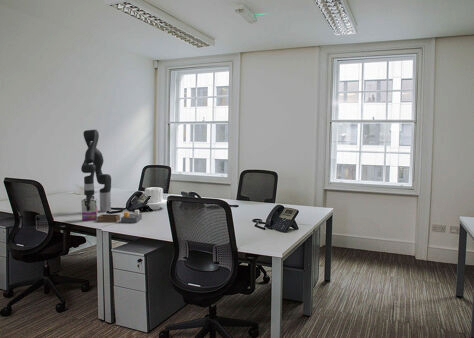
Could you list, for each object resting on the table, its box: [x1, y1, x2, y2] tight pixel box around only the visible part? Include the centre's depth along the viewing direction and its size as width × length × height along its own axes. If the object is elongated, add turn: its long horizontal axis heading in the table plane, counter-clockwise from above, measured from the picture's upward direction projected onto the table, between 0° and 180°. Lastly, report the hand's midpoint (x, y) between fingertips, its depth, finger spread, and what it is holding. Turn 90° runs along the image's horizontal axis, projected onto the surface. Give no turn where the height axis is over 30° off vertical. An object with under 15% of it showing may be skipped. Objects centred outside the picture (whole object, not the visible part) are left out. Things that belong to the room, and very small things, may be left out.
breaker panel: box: [120, 213, 143, 224], centre depth 291 cm, size 15×12×4 cm
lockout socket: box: [96, 213, 121, 223], centre depth 290 cm, size 9×15×4 cm, turn 89°
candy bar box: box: [81, 198, 99, 221], centre depth 292 cm, size 11×5×16 cm, turn 101°
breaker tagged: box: [123, 211, 130, 217], centre depth 287 cm, size 3×3×4 cm
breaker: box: [133, 209, 140, 215], centre depth 295 cm, size 3×3×4 cm
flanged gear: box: [144, 186, 168, 211], centre depth 339 cm, size 25×25×19 cm
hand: (89, 209), depth 292 cm, fingers closed on candy bar box, 5 cm apart
